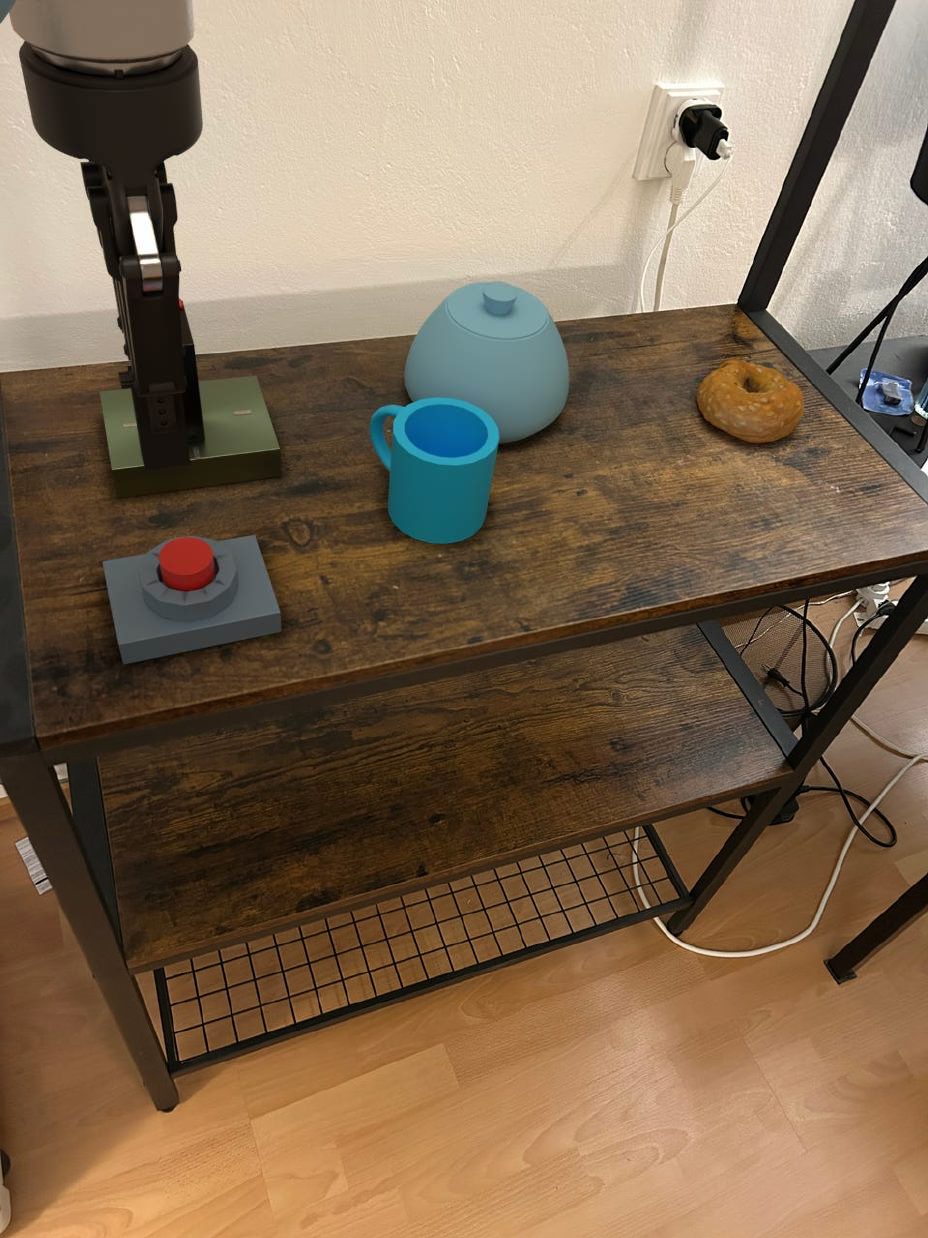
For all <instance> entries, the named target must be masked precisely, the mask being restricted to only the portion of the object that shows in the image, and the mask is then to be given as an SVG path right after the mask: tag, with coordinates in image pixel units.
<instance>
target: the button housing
mask: <svg viewBox="0 0 928 1238" xmlns="http://www.w3.org/2000/svg"><path fill="white" fill-rule="evenodd" d="M183 537H192V538H198V539H200V540H203V541H204V542H206V543H207V544H208V545H209V546H210V547H211V549H212V551H213V558H214V566H215V575H214V577H213V579H212V581H211V582H210V583H209V584H208V585H207V586H205V587H203V588H201V589H199V590H194V591H188V592H184V591H178V590H175V589H172V588H170V587H169V586H168V585H167V584H166V583H165V582H164V581H163V578H162V574H161V568H160V563H159V553H160V551H161V549H162V548H163V547H164V546H165V545H166V544H167V543H169V542H170V541H172V540H175V539H178V538H183ZM258 542H259V541H258V539H257V536H256V534H252V535H245V536H240V537H233V538H229V539H224V540H223V539H222V540H216V539H213V538H208V537H204V536H203V537H202V536H197V535H185V536H179V537H173V538H168V539H166V540H164V541H163V542H161V543H160V544H158V545H156V546H155V547H153V548H151V549H150V550H148V551H147V552H146V553H143V554H135V555H133V556H125V557H121V558H114V559H109V560H108V559H107V560H104V561H102V562H101V563H102V568H103V573H104V578H105V583H106V589H107V593H108V599H109V604H110V609H111V614H112V619H113V624H114V625H113V626H114V630H115V636H116V640H117V645H118V649H119V653H120V657H121V661H122V664H123V665H130V664H134V663H138V662H143V661H147V660H152V659H158V658H162V657H167V656H173V655H176V654H177V655H178V654H181V653H186V652H191V651H195V650H200V649H206V648H209V647H215V646H220V645H226V644H229V643H234V642H239V641H244V640H248V639H249V640H250V639H254V638H259V637H264V636H268V635H273V634H278V633H282V629H283V628H282V612H281V609H280V606H279V603H278V600H277V596H276V594H275V590H274V587H273V584H272V582H271V578H270V576H269V572H268V570H267V567H266V563H265V559H264V558H263V555H262V551H261V548H260V546H259V543H258Z"/></svg>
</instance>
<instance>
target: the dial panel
mask: <svg viewBox="0 0 928 1238" xmlns="http://www.w3.org/2000/svg"><path fill="white" fill-rule="evenodd" d="M198 381H199V390H200V398H201V407H202V416H203V424H204V433H205V441H197V442H189V443H188V448H189V457H190V465H183V466H175V467H168V468H160V469H153V470H146V471H145V467H144V463H143V459H142V455H141V449H140V443H139V436H138V430H137V424H136V418H135V411H134V405H133V399H132V393H131V388H130V389H122V388H121V389H111V390H102V391H101V390H100V391H99V392H98V393H99V398H100V399H99V400H100V405H101V411H102V416H103V423H104V430H105V436H106V443H107V449H108V453H109V454H108V455H109V462H110V468H111V472H112V477H113V483H114V487H115V492H116V496H117V498H118V499H123V498H130V497H131V498H132V497H135V496H136V497H138V496H146V495H152V494H153V495H154V494H160V493H168V492H169V493H170V492H175V491H176V492H177V491H183V490H190V489H198V488H205V487H212V486H220V485H228V484H236V483H244V482H251V481H258V480H265V479H275V478H280V477H282V464H281V463H282V460H281V459H282V458H281V447H280V443H279V441H278V438H277V435H276V432H275V429H274V426H273V425H274V424H273V423H272V420H271V416H270V413H269V411H268V406H267V403H266V402H265V401H266V400H265V398H264V395H263V391H262V388H261V386H260V382H259V379H258V376H257V375H248V376H239V377H238V376H237V377H229V378H227V377H226V378H218V379H208V380H198Z"/></svg>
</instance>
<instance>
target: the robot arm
mask: <svg viewBox="0 0 928 1238" xmlns="http://www.w3.org/2000/svg"><path fill="white" fill-rule="evenodd" d="M8 14H9V15H8ZM7 16H9V20H10V24H11V28H12V30H13V31H14V32H15V33H16V35H18V36H19V38H21V39H22V40H23V43H22V44H21V46H20V48H19V50H18V57H19V62H20V67H21V72H22V77H23V83H24V87H25V92H26V97H27V103H28V107H29V112H30V116H31V121H32V125H33V127H34V130H35V132H36V133H37V134H38V136H39V137H40V138H41V139H42V141H44V142H45V143H46V144H47V145H48V146H49V147H51V148H53V149H54V150H55V151H58V152H60V153H61V154H64V155H66V156H68V157H72V158H75V159H78V160H87V161H80V162H79V163H80V171H81V175H82V176H81V177H82V180H83V181H82V183H83V187H84V190H85V195H86V197H87V200H88V203H89V209H90V213H91V217H92V221H93V223H94V226H95V227H96V233H97V237H98V241H99V245H100V248H101V249H102V254H103V259H104V264H105V268H106V270H107V274H108V275H109V276H110V277H111V280H112V285H113V291H114V296H115V297H114V298H115V303H116V308H117V314H118V316H117V317H116V323H117V328H119V330H120V331H121V333H122V334H123V337H124V338H123V339H124V344H123V346H122V348H123V353H124V355H125V356H126V357H127V360H128V362H130V365H127V366H126V368H127V370H126V371H125V370H124V371H118V372H117V374H118V380H119V383H120V388H121V389H130V388H131V393H132V399H133V405H134V411H135V418H136V424H137V430H138V436H139V443H140V449H141V455H142V459H143V463H144V467H145V471H146V470H153V469H160V468H168V467H175V466H183V465H190V457H189V448H188V439H187V431H186V422H185V413H184V404H183V395H182V393H185V390H186V386H187V381H186V377H185V376H184V362H183V355H185V354H186V353H185V350H184V349H185V348H184V345H183V342H182V333H181V318H180V304H179V299H180V273H181V272H182V265H181V260H180V259H179V257H178V255H177V249H176V239H175V230H174V229H175V226H176V224H177V222H178V218H179V217H178V207H177V198H176V192H175V187H174V183H172V182H168V176H167V169H166V163H165V161H166V160H168V159H170V158H172V157H174V156H175V157H176V156H177V157H178V156H180V155H182V154H184V153H186V152H187V151H188V150H190V149H191V148H192V147H194V145H196V143H197V142H198V141H199V139H200V138H201V135H202V133H203V127H204V122H203V108H202V106H203V105H202V95H201V82H200V69H199V68H200V67H199V58H198V55H197V54H196V52H195V51H194V49H193V48H191V46H190V44H189V43H190V42H191V41H192V39H193V38H194V36H195V19H194V5H193V0H0V25H1V24H2V23H3V21H4V20H5V18H6V17H7Z"/></svg>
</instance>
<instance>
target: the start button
mask: <svg viewBox="0 0 928 1238" xmlns="http://www.w3.org/2000/svg"><path fill="white" fill-rule="evenodd" d="M182 537H183V538H179V537H177V538H178V539H175V540H172V541H170V542H169V543H167V544H166V545H165V546H164V547H163V548H162V549H161V551H160V553H159V563H160V568H161V574H162V578H163V581H164V582H165V583H166V584H167V585H168V586H169V587H170V588H172V589H175V590H178V591H184V592H188V591H194V590H199V589H201V588H203V587H205V586H207V585H208V584H209V583H210V582H211V581H212V579H213V577H214V575H215V566H214V558H213V551H212V549H211V547H210V546H209V545H208V544H207V543H206V542H204V541H203V540H200V539H198V538H192V537H185V536H182Z"/></svg>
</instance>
